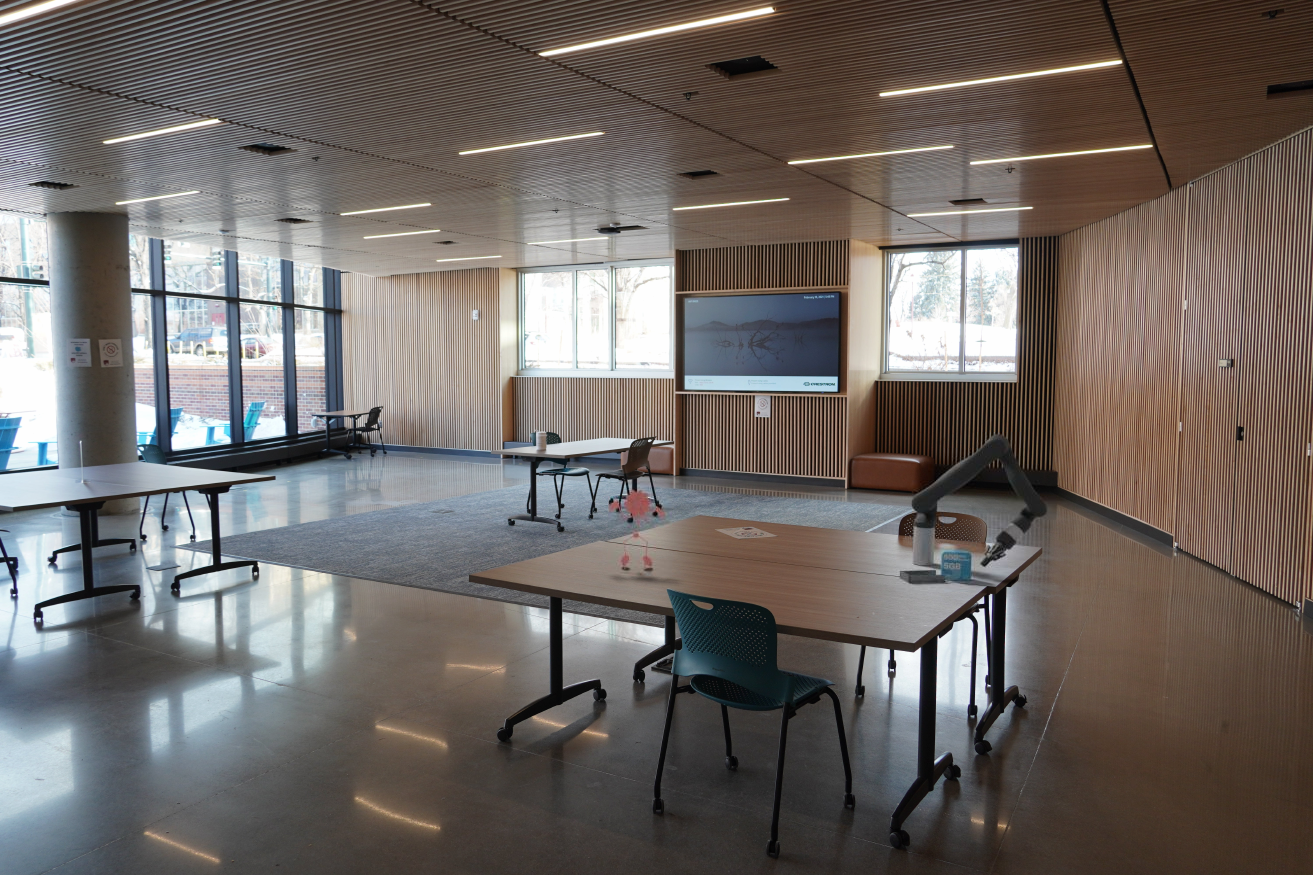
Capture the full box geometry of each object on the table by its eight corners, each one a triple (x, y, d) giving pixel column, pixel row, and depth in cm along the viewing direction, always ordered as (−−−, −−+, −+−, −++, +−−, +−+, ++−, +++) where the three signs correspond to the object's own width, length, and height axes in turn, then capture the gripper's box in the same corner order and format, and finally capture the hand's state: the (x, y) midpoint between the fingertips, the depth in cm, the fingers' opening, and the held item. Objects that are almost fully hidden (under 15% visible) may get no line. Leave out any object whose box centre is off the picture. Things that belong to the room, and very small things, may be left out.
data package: (941, 579, 383) (941, 551, 382) (940, 576, 387) (941, 549, 386) (970, 580, 380) (971, 552, 379) (969, 578, 384) (970, 550, 383)
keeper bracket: (899, 577, 385) (899, 570, 385) (935, 576, 387) (935, 569, 387) (908, 583, 376) (909, 575, 375) (945, 581, 378) (945, 574, 378)
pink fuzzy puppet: (663, 571, 396) (663, 492, 394) (606, 568, 401) (606, 490, 399) (668, 564, 411) (669, 488, 410) (614, 562, 416) (614, 487, 414)
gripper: (996, 527, 392) (969, 556, 391) (1012, 533, 378) (984, 562, 378) (1007, 539, 393) (980, 567, 392) (1023, 545, 380) (995, 574, 379)
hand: (982, 565), depth 385 cm, fingers closed
